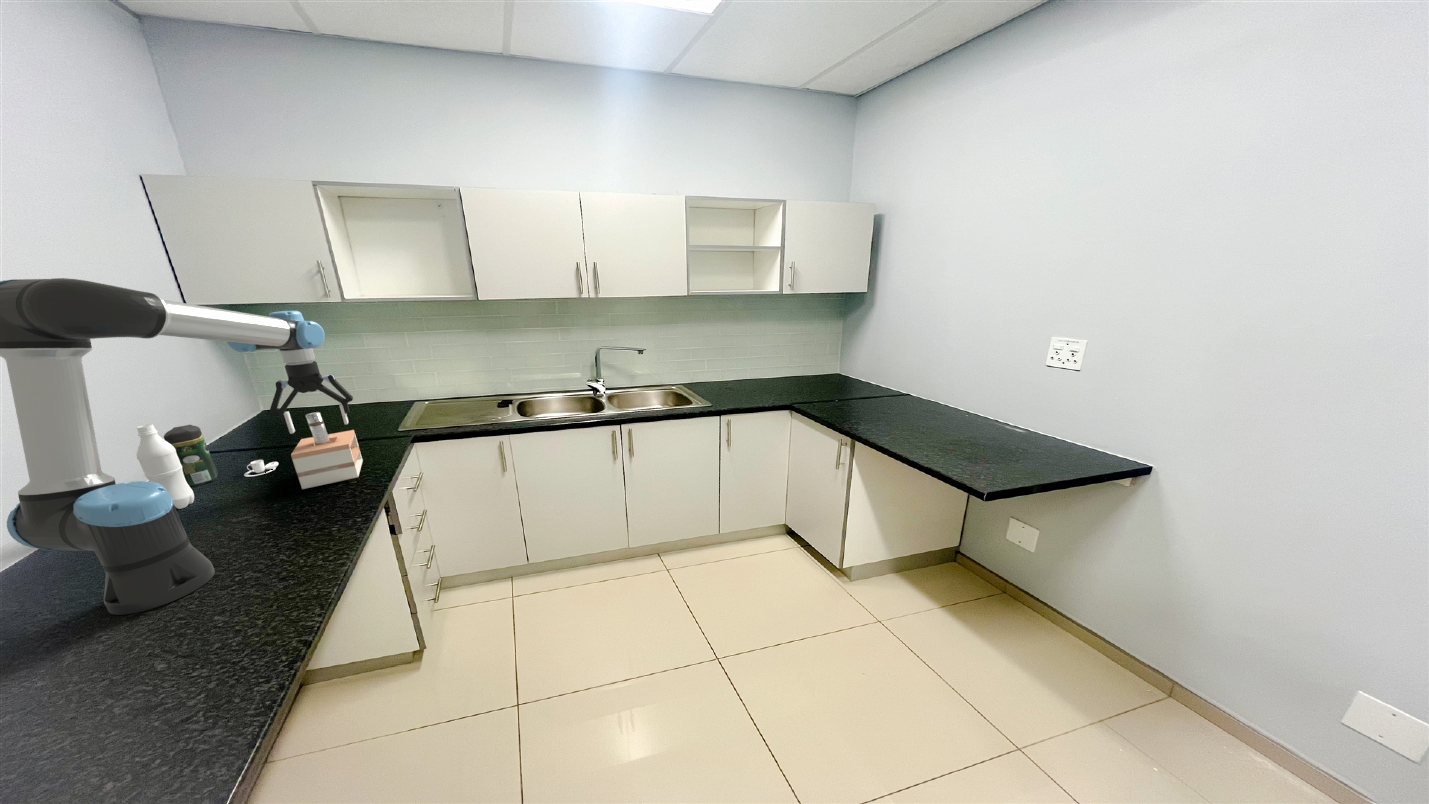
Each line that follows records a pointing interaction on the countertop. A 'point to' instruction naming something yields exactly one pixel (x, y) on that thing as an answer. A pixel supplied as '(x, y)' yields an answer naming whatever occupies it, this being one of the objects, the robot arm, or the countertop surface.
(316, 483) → the tissue box
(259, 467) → the teacup and saucer
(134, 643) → the countertop surface
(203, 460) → the coffee jar
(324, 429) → the metal tube
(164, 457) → the water bottle
